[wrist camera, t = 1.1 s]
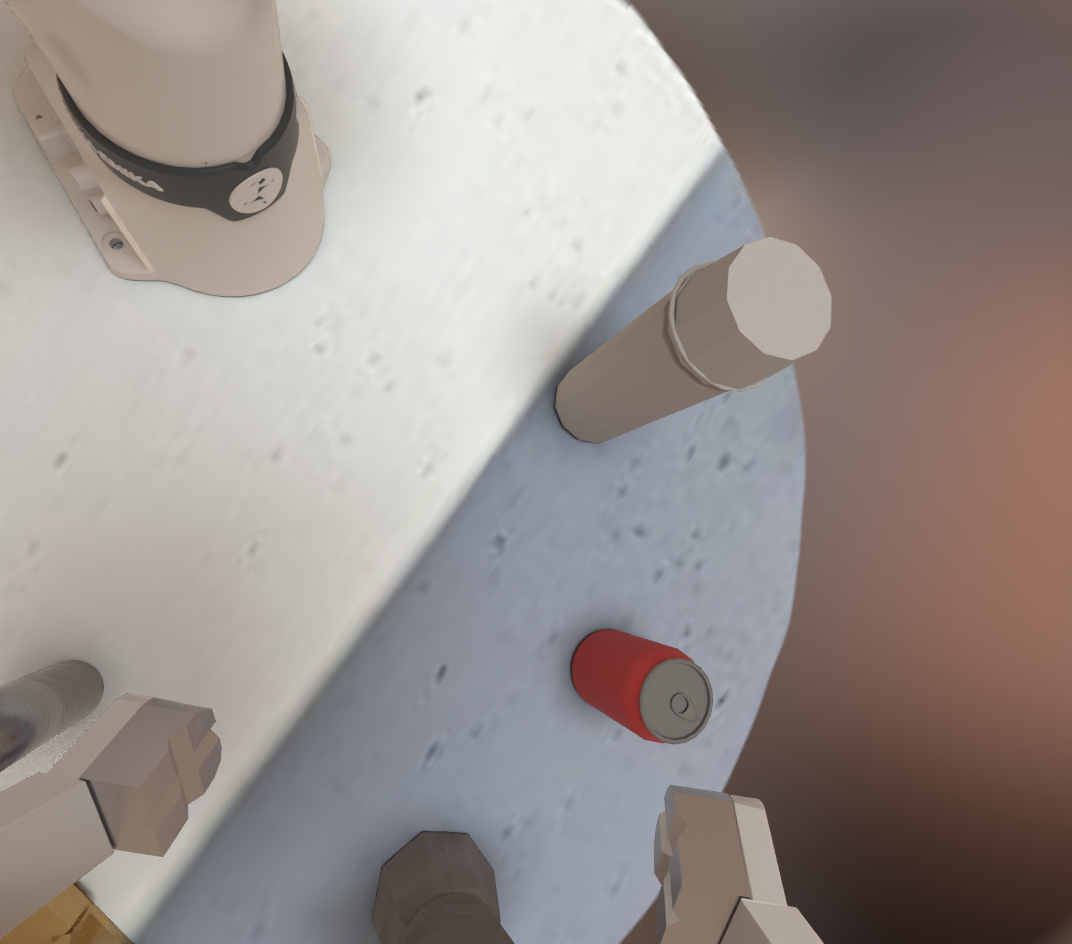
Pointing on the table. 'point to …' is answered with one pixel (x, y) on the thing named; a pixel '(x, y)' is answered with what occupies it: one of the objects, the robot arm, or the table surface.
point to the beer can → (643, 686)
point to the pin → (45, 706)
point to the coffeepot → (438, 894)
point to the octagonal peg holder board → (67, 923)
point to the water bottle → (701, 341)
